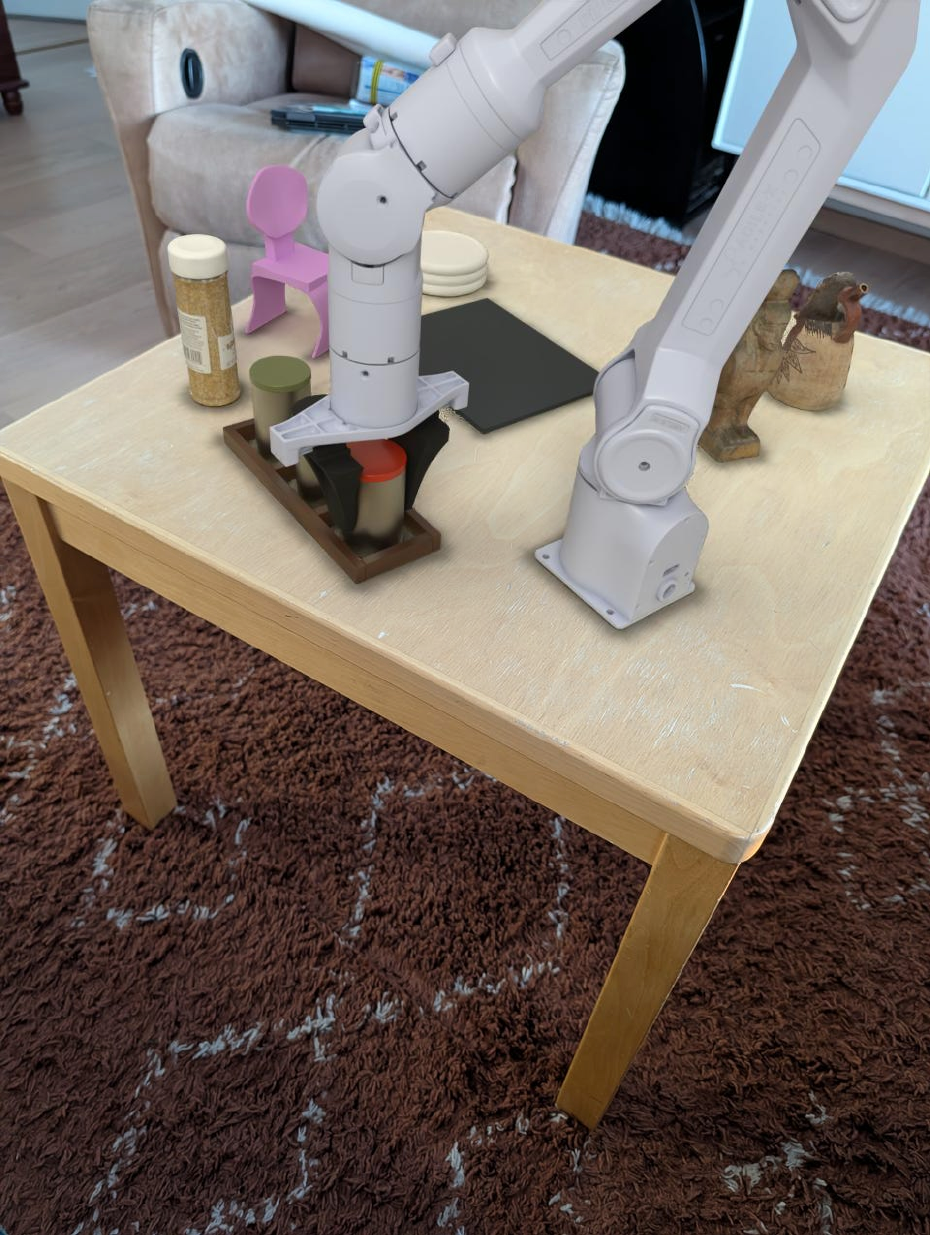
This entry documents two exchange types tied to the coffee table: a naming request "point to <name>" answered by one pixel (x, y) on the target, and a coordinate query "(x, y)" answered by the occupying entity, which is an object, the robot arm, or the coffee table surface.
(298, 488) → the cylinder
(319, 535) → the spice rack
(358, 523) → the paprika tin
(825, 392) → the figurine
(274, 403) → the herb tin
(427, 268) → the cream round stack
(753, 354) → the brown carved statuette
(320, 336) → the toy chair
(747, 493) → the coffee table surface
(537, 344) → the mat
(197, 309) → the sprinkles bottle
